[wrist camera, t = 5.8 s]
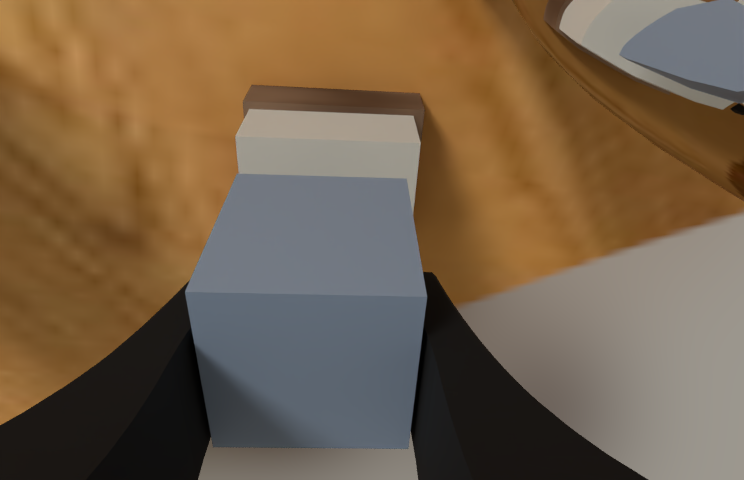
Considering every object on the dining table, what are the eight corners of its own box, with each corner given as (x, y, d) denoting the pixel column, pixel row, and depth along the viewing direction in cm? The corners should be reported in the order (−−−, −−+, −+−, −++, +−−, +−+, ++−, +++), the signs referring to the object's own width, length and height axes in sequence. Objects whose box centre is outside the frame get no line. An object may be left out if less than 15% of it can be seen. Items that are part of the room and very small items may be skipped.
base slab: (263, 221, 21) (253, 252, 19) (254, 79, 18) (242, 101, 16) (403, 226, 21) (407, 258, 19) (417, 88, 18) (424, 110, 16)
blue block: (250, 305, 15) (212, 447, 11) (237, 173, 13) (185, 291, 9) (395, 309, 15) (408, 449, 11) (406, 178, 13) (427, 296, 9)
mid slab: (259, 246, 19) (249, 284, 17) (249, 108, 16) (235, 136, 14) (400, 250, 19) (405, 288, 17) (413, 115, 16) (420, 143, 15)
